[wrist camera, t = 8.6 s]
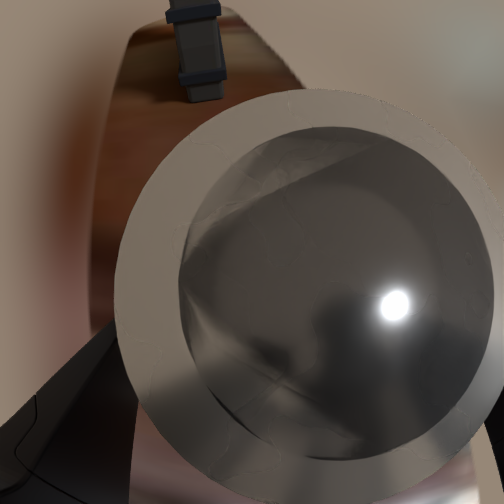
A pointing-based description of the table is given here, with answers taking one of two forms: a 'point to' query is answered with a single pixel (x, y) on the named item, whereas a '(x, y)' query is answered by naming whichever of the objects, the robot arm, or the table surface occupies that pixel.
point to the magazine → (198, 47)
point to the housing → (314, 298)
